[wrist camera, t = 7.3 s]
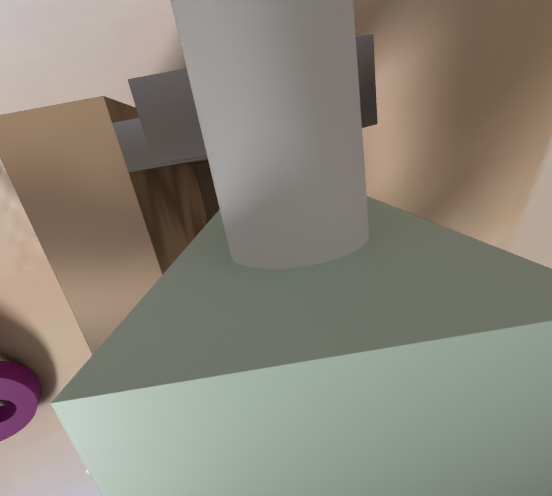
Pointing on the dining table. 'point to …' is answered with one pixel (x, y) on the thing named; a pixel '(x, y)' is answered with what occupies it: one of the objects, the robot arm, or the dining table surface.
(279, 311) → the door
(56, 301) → the dining table surface
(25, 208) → the cabinet
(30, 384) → the mounting bracket
